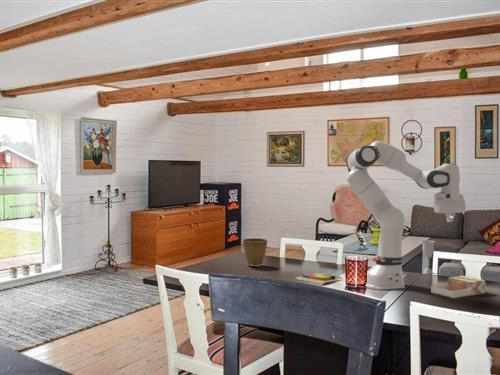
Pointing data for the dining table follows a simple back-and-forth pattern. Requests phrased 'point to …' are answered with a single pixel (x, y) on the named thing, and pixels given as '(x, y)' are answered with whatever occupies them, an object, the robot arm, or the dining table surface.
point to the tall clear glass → (428, 253)
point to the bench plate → (470, 284)
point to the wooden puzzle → (319, 278)
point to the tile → (457, 285)
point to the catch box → (449, 291)
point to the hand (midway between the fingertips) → (450, 221)
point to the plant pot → (255, 250)
